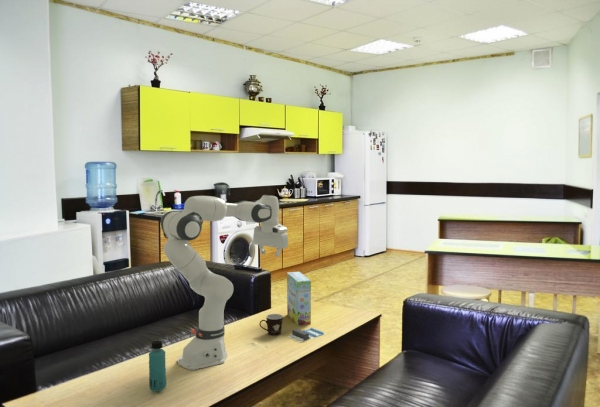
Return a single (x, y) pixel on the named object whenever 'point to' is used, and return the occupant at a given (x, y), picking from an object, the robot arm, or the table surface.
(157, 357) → the beverage bottle
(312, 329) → the white ridged tray
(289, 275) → the snack box
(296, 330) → the grey rectangular prism
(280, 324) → the coffee mug
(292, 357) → the table surface
